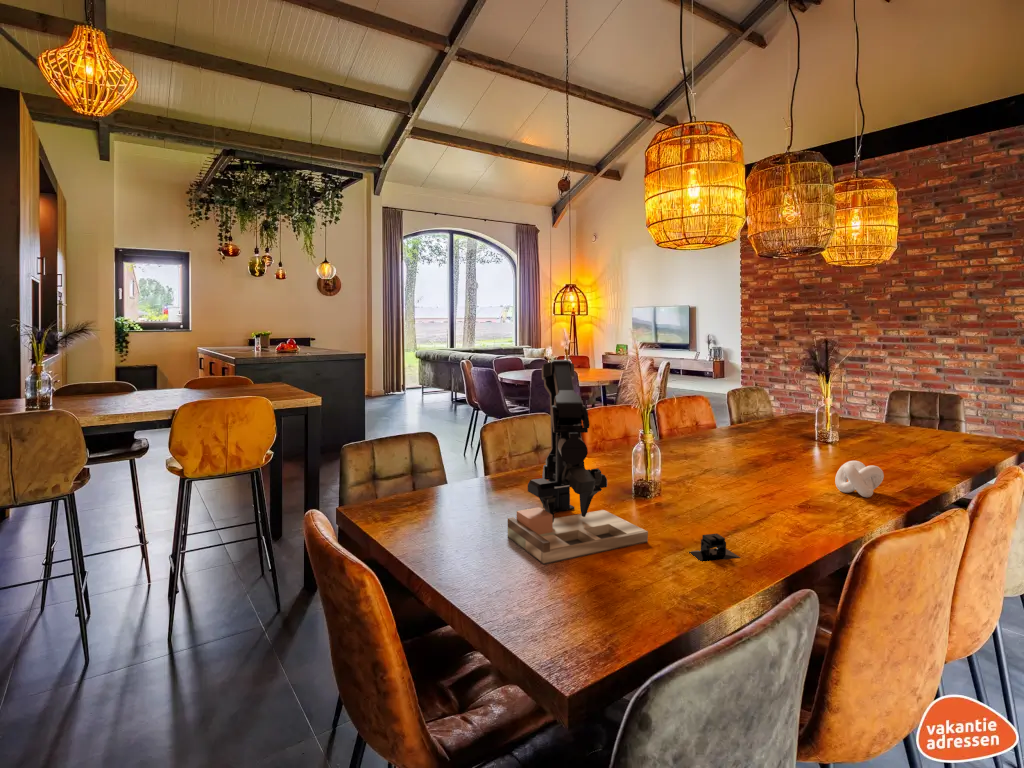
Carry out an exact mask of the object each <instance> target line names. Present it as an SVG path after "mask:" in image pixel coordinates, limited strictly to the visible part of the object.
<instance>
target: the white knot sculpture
mask: <svg viewBox="0 0 1024 768" xmlns="http://www.w3.org/2000/svg"><path fill="white" fill-rule="evenodd" d="M884 477H885V474H884V471H883V470H882V468H880V467H879V466H877V465H867V466H866V465H865V464H864V463H863V462H862V461H859V460H849V461H846V462H845V463H843V464H841V466H840V467H839V469H838V470H837V472H836V474H835V479H834V480H835V481H834V483H835V486H836V488H837V489H838V490H839V491H840V492H842V493H844V494H845V493H846V494H848V493H853V492H855V491H856V492H857V493H858V495H860V496H861V497H863V498H871V497H872V496H873V494H874V490H875V489H877V488H878V487H879V486H880V485H881V484H882V482H883V480H884Z"/></svg>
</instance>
